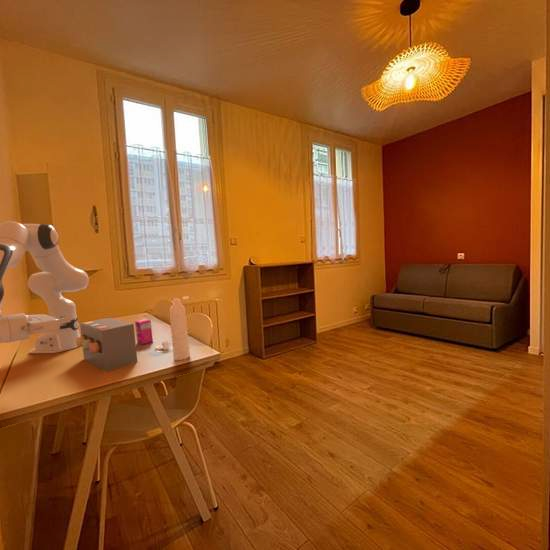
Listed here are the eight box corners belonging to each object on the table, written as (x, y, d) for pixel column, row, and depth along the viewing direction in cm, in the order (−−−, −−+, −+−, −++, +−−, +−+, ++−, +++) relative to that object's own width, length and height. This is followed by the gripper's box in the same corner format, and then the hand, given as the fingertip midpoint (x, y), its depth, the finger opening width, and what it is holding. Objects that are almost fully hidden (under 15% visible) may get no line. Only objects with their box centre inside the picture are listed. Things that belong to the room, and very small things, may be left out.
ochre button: (79, 347, 128) (78, 338, 128) (76, 346, 131) (75, 337, 130) (87, 345, 130) (86, 336, 130) (84, 344, 133) (83, 335, 132)
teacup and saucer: (152, 350, 143) (152, 342, 142) (169, 346, 148) (168, 338, 148) (161, 354, 136) (160, 345, 136) (177, 349, 142) (177, 341, 142)
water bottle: (178, 361, 124) (172, 300, 122) (170, 358, 129) (165, 299, 127) (197, 355, 130) (192, 296, 128) (189, 352, 135) (184, 296, 133)
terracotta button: (92, 354, 117) (91, 344, 117) (89, 352, 120) (88, 342, 119) (101, 352, 119) (100, 342, 119) (97, 350, 122) (96, 340, 122)
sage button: (86, 351, 122) (84, 341, 122) (82, 349, 125) (81, 339, 125) (94, 349, 125) (93, 339, 124) (90, 347, 127) (89, 337, 127)
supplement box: (136, 343, 155) (134, 321, 154) (148, 340, 159) (146, 318, 158) (141, 345, 151) (139, 322, 150) (153, 342, 155) (151, 320, 154)
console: (106, 371, 118) (101, 329, 117) (83, 359, 135) (79, 322, 134) (137, 362, 127) (133, 323, 125) (112, 351, 144) (109, 316, 143)
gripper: (24, 320, 95) (75, 312, 106) (13, 314, 109) (59, 308, 119) (26, 340, 96) (77, 330, 106) (15, 332, 110) (61, 324, 120)
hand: (67, 318), depth 113 cm, fingers open, 4 cm apart
